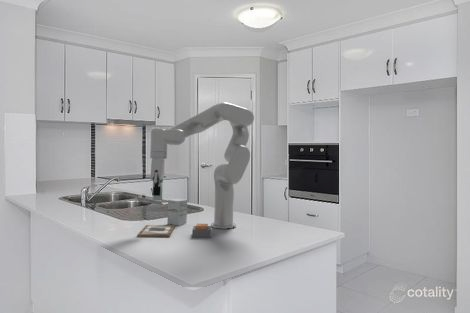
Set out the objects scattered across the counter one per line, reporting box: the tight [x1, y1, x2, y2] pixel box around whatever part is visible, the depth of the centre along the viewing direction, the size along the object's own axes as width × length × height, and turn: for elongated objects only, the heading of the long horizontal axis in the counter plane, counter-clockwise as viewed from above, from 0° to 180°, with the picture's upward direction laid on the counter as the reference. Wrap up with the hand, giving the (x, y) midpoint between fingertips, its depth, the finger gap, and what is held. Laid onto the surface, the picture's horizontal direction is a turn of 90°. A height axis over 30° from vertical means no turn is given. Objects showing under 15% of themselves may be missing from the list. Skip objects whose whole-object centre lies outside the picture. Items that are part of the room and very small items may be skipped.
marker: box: [152, 178, 164, 201], centre depth 168 cm, size 4×4×10 cm
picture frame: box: [136, 224, 176, 238], centre depth 168 cm, size 20×14×1 cm
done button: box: [195, 223, 209, 229], centre depth 163 cm, size 5×5×3 cm
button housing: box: [191, 225, 212, 239], centre depth 163 cm, size 8×8×4 cm
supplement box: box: [166, 198, 188, 227], centre depth 188 cm, size 7×7×13 cm
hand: (157, 194), depth 168 cm, fingers closed on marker, 4 cm apart
